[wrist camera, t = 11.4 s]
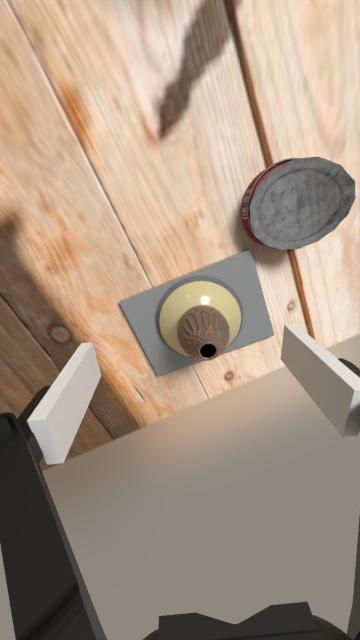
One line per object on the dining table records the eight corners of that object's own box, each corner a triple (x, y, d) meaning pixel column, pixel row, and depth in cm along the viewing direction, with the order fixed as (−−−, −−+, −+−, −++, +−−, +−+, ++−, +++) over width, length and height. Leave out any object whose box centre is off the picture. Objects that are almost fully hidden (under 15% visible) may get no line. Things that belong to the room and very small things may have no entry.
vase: (216, 346, 36) (228, 381, 28) (172, 337, 35) (171, 371, 27) (229, 304, 34) (247, 330, 26) (182, 294, 33) (185, 317, 25)
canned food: (294, 224, 36) (333, 263, 30) (230, 235, 36) (256, 276, 29) (323, 133, 28) (387, 159, 21) (241, 144, 27) (281, 174, 20)
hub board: (120, 300, 35) (117, 305, 33) (248, 248, 33) (253, 250, 31) (158, 373, 40) (157, 380, 38) (272, 332, 38) (277, 338, 36)
